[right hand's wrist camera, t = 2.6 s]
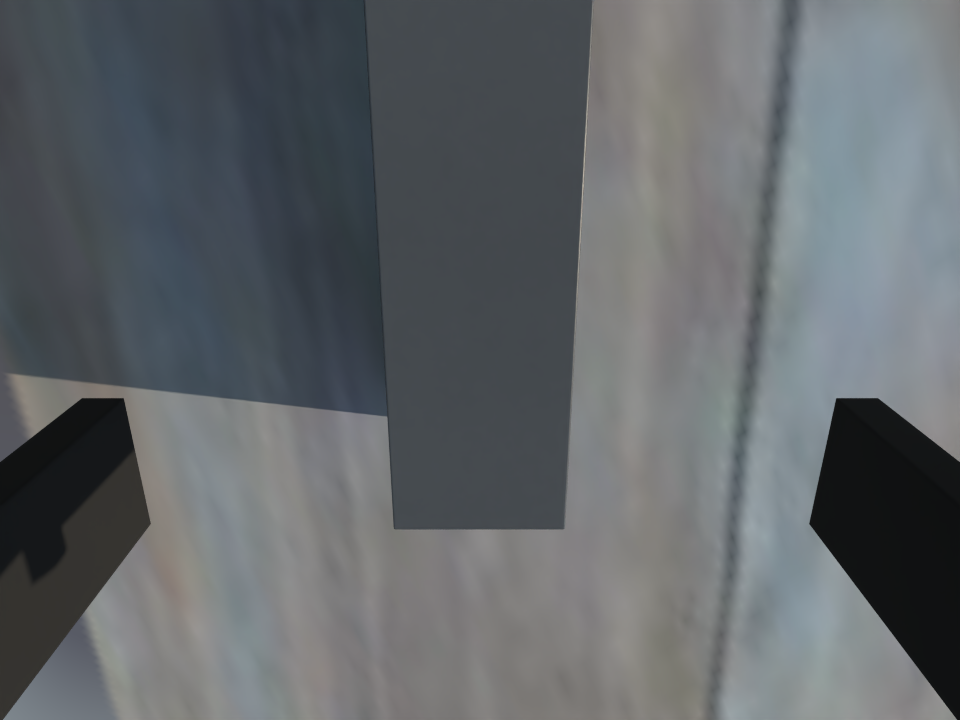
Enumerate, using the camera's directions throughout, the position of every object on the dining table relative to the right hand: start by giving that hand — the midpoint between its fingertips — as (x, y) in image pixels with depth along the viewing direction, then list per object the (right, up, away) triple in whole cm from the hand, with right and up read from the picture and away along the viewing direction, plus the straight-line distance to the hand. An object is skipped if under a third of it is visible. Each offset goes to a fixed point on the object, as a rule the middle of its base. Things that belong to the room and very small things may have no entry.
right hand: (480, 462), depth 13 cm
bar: (0, +23, +8) cm, 25 cm away
